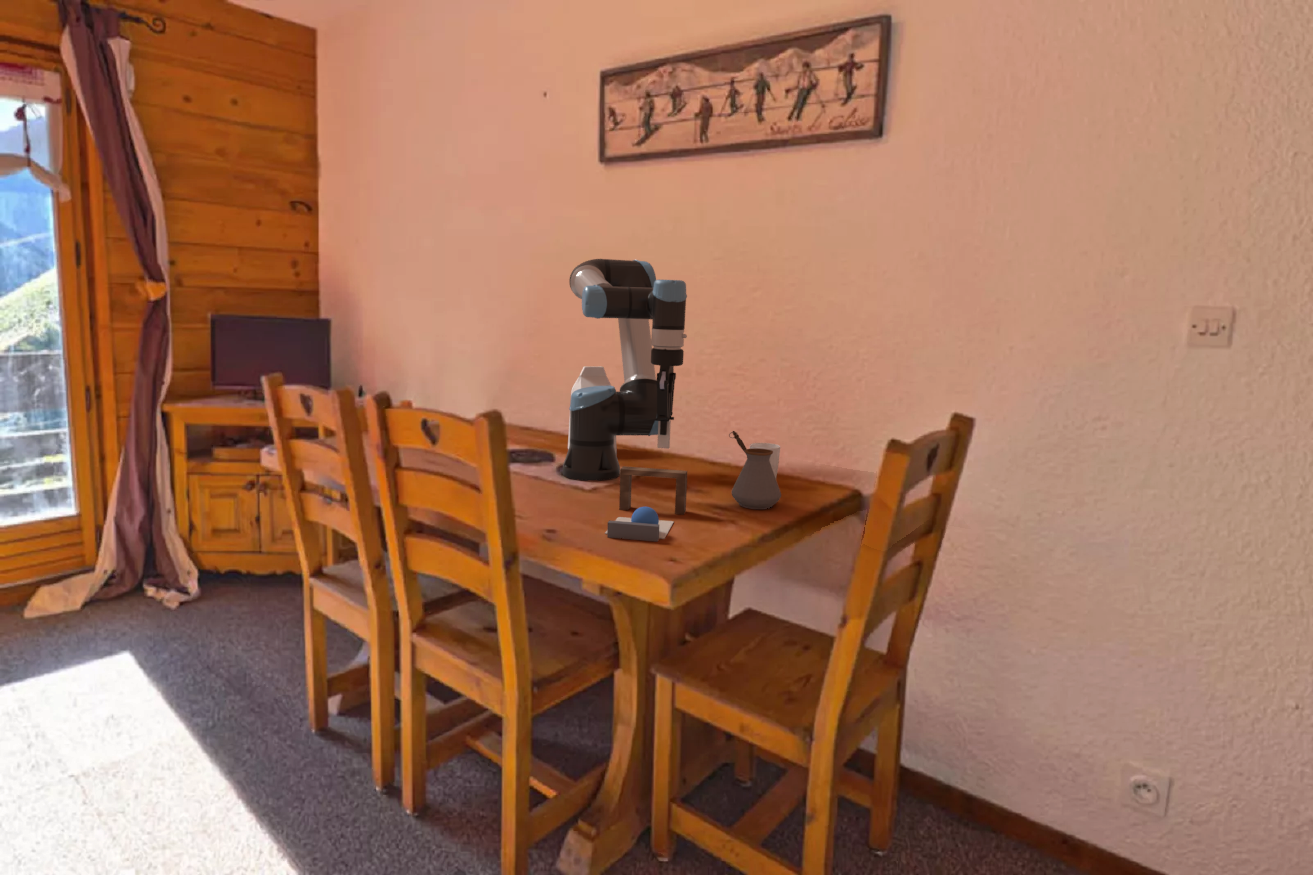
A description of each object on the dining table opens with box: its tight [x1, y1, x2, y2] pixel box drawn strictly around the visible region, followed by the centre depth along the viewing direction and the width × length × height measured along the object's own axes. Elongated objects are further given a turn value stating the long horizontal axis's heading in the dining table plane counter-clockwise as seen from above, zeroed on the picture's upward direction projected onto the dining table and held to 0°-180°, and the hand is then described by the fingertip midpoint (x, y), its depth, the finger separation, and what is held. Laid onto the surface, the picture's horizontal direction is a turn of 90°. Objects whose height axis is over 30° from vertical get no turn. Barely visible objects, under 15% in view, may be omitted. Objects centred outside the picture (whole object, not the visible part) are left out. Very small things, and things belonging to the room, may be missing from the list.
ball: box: [630, 506, 660, 524], centre depth 153 cm, size 6×6×6 cm
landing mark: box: [604, 516, 675, 540], centre depth 157 cm, size 12×12×1 cm
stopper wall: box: [606, 520, 660, 542], centre depth 150 cm, size 10×2×3 cm, turn 80°
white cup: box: [749, 442, 781, 479], centre depth 200 cm, size 8×8×10 cm
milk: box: [567, 366, 618, 455], centre depth 233 cm, size 12×12×26 cm
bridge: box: [618, 465, 688, 516], centre depth 170 cm, size 14×3×9 cm, turn 80°
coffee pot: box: [728, 430, 782, 510], centre depth 182 cm, size 21×12×15 cm, turn 17°
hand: (663, 447), depth 182 cm, fingers closed
